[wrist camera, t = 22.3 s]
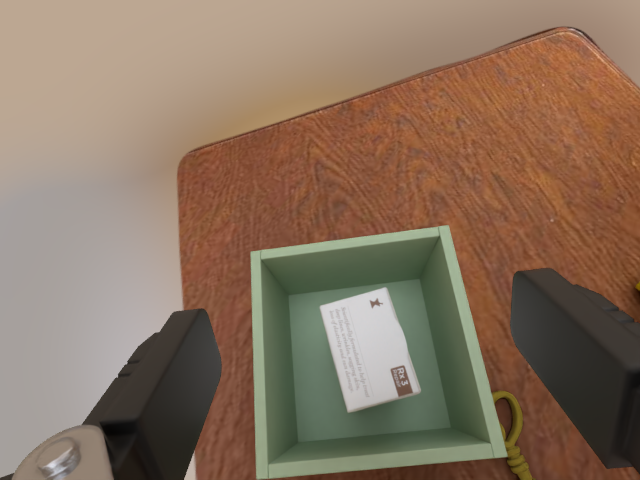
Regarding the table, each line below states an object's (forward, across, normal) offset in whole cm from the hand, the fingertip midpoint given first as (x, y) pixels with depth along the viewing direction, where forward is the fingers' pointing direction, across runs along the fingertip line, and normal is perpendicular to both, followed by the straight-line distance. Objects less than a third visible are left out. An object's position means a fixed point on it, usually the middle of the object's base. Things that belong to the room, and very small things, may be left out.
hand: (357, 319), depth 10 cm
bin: (+18, 0, +16) cm, 24 cm away
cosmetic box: (+17, 0, +16) cm, 23 cm away
